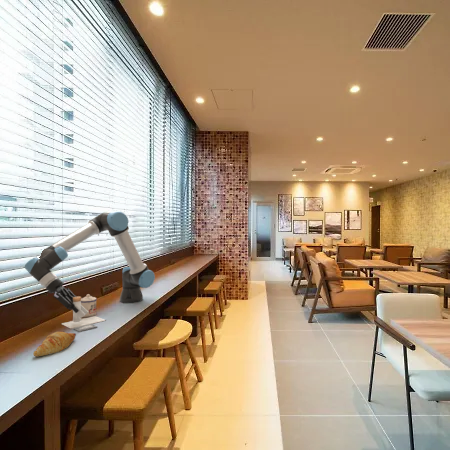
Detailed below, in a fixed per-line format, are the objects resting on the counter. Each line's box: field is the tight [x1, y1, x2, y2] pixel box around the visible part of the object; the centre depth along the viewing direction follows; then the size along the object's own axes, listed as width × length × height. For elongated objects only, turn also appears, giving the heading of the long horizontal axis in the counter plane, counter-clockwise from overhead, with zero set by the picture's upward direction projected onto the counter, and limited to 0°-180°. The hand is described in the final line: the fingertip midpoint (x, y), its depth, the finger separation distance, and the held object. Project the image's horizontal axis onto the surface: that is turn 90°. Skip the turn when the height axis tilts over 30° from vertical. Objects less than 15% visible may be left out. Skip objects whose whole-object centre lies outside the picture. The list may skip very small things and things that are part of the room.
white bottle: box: [72, 296, 82, 322], centre depth 161 cm, size 4×4×12 cm
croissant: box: [33, 331, 77, 358], centre depth 129 cm, size 21×10×8 cm, turn 166°
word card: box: [73, 324, 98, 333], centre depth 154 cm, size 9×6×1 cm, turn 138°
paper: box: [61, 315, 107, 330], centre depth 165 cm, size 18×12×1 cm, turn 138°
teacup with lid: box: [81, 293, 98, 318], centre depth 180 cm, size 12×9×12 cm
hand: (84, 314), depth 161 cm, fingers closed on white bottle, 3 cm apart
